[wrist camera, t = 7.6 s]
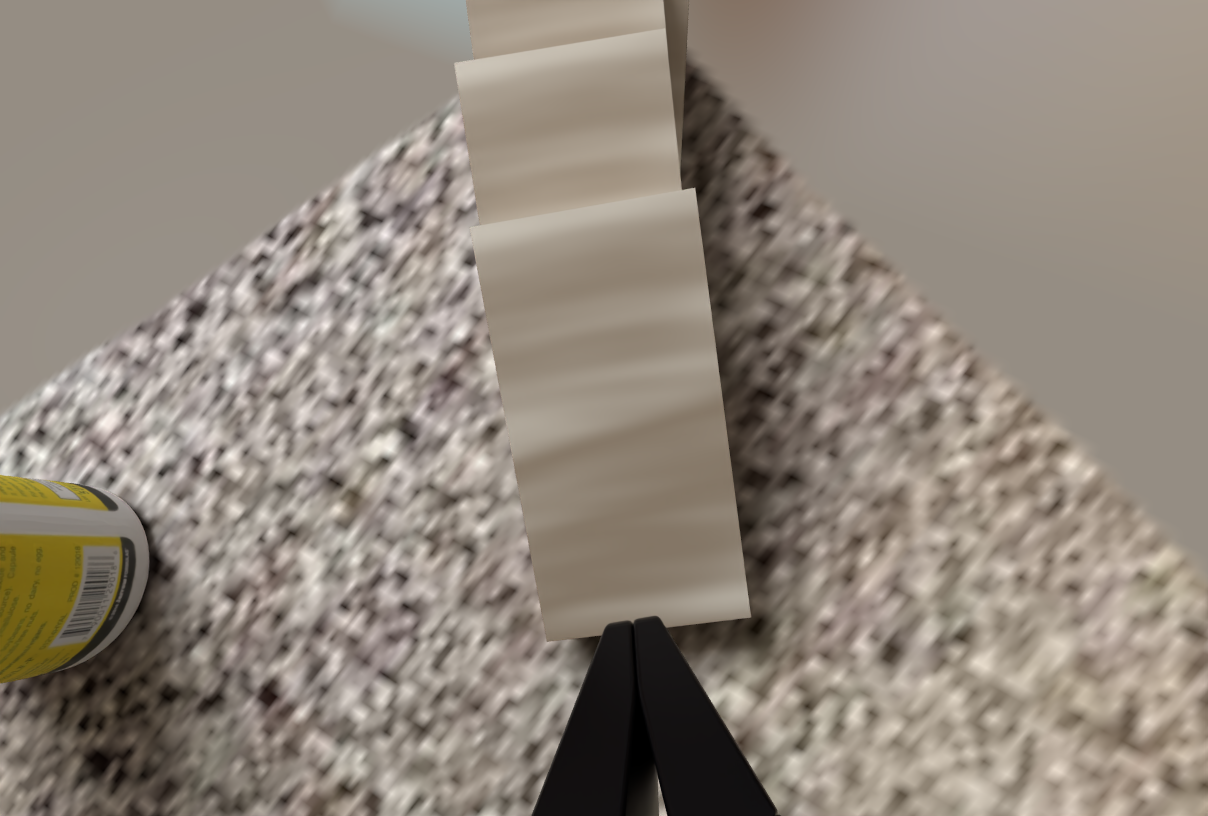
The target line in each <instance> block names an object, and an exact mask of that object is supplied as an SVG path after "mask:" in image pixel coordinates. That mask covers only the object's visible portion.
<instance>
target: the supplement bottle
mask: <svg viewBox="0 0 1208 816" xmlns="http://www.w3.org/2000/svg"><path fill="white" fill-rule="evenodd" d="M148 573H149V549H148V542H147V537H146V534H145V531H144V529H143V526H142V524H141V522H140V520H139V518H138V517H137V515H136V514H135V512H134V511H133V510H132V509H131V507H130V506H129V505H128V504H127V503H126V502H125V501H123V500H122V499H121V498H119V497H118V496H116V495H114V494H113V493H111V492H109V491H106V490H104V489H101V488H97V487H92V486H86V485H80V484H74V483H64V482H57V481H48V480H39V479H29V478H20V477H12V476H3V475H0V683H6V682H11V681H16V680H21V679H26V678H30V677H34V676H39V675H44V674H49V673H53V672H57V671H61V670H64V669H68V668H71V667H74V666H76V665H78V664H80V663H83V662H85V661H87V660H88V659H90V658H92V657H93V656H95V655H96V654H98V653H99V652H101V651H102V650H103V649H105V648H106V647H107V646H108V645H109V644H110V643H111V642H113V641H114V640H115V639H116V638H117V637H118V636H119V634H120V633H121V632H122V631H123V630H124V628H125V627H126V626H127V624H128V623H129V621H130V620H131V618H132V617H133V615H134V613H135V612H136V610H137V608H138V606H139V603H140V601H141V599H142V596H143V593H144V590H145V587H146V583H147V579H148Z"/></svg>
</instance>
